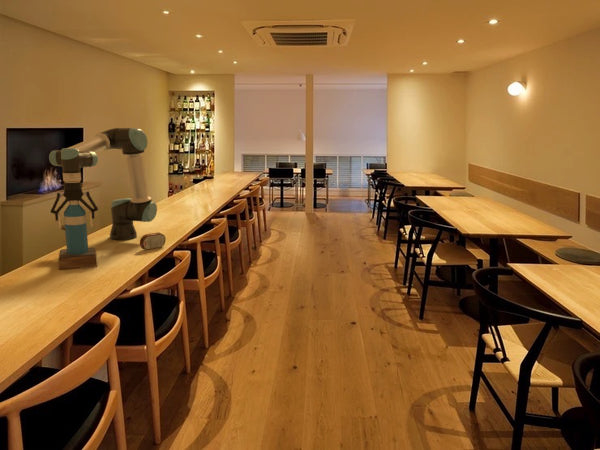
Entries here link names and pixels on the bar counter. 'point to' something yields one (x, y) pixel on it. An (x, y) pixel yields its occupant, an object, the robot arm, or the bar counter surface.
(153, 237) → the tin
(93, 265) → the stand
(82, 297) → the bar counter surface
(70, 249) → the water bottle
